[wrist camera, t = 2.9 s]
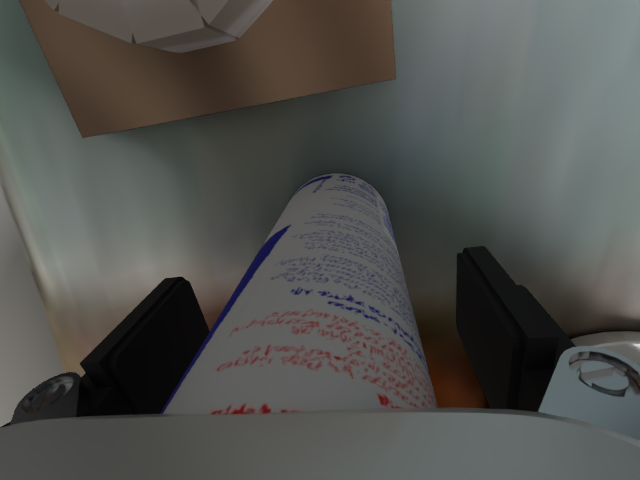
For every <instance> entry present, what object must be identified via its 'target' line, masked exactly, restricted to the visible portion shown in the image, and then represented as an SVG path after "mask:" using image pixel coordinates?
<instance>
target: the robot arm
mask: <svg viewBox="0 0 640 480" xmlns="http://www.w3.org/2000/svg"><path fill="white" fill-rule="evenodd" d="M456 324H457V329H458V333H459V335H460V337H461V340H462V342H463V345H464V347H465V349H466V352H467V354H468V356H469V359H470V361H471V363H472V366H473V368H474V371H475V373H476V375H477V378H478V380H479V382H480V385H481V387H482V389H483V392H484V394H485V397H486V399H487V401H488V404H489V406H490V408H491V409H482V408H389V409H342V410H322V411H302V412H283V413H257V414H182V413H171V414H160V413H161V411H162V410H163V408H164V406H165V405H166V403H167V401H168V400H169V398H170V396H171V395H172V393H173V392H174V390H175V388H176V387H177V385H178V383H179V382H180V380H181V378H182V377H183V375H184V374H185V372H186V370H187V369H188V367H189V365H190V364H191V362H192V360H193V359H194V357H195V355H196V354H197V352H198V351H199V349H200V347H201V346H202V344H203V342H204V341H205V339H206V337H207V336H208V334H209V332H210V331H209V329H208V326H207V324H206V321H205V319H204V316H203V314H202V311H201V309H200V306H199V304H198V301H197V299H196V296H195V294H194V291H193V289H192V286H191V284H190V282H189V281H187V280H185V279H184V278H183V277H174V278H166V279H164V280H163V281H162V282H161V283H160V284H159V285H158V286H157V287H156V288H155V289H154V290H153V291H152V292H151V293H150V294H149V295H148V296H147V297H146V298H145V299H144V300H143V301H142V302H141V303H140V304H139V305H138V306H137V307H136V308H135V309H134V310H133V311H132V312H131V313H130V314H129V315H128V316H127V317H126V318H125V319H124V320H123V321H122V322H121V323H120V324H119V325H118V326H117V327H116V328H115V329H114V330H113V331H112V332H111V333H110V334H109V335H108V336H107V337H106V338H105V339H104V340H103V341H102V342H101V343H100V344H99V345H98V346H97V347H96V348H95V349H94V350H93V351H92V352H91V353H90V354H89V355H88V356H87V357H86V358H85V359H84V360H83V361H82V362H81V363H80V365H81V366H82V368H83V369H84V371H85V372H86V373H85V374H84V375H83V376H82V377H80V376H79V374H77V373H75V372H67V373H62V374H59V375H57V376H54V377H52V378H50V379H48V380H46V381H44V382H42V383H41V384H39V385H38V386H36V387H35V388H33V389H32V390H31V391H30V392H29V393H27V394H26V395H25V396H24V397H23V398H22V400H21V401H20V402H19V403H18V405H17V407H16V409H15V411H14V414H13V417H12V420H11V422H9V423H7V424H6V425H4V426H2V427H0V480H640V332H633V331H618V332H602V333H596V334H591V335H585V336H580V337H576V338H573V339H569V337H568V336H567V335H566V334H565V333H564V332H563V330H562V329H561V328H560V327H559V326H558V325H557V323H556V322H555V321H554V320H553V319H552V318H551V316H550V315H549V314H548V313H547V312H546V311H545V309H544V308H543V307H542V306H541V305H540V304H539V302H538V301H537V300H536V299H535V298H534V297H533V295H532V294H531V293H530V292H529V291H528V290H527V289H526V288H525V287H524V286H522V285H516V284H515V283H514V281H513V280H512V279H511V278H510V277H509V275H508V274H507V273H506V272H505V270H504V269H503V268H502V267H501V266H500V264H499V263H498V262H497V261H496V259H495V258H494V257H493V256H492V255H491V253H490V252H489V251H488V250H487V249H486V247H484V246H479V247H470V248H464V249H463V253H458V254H457V295H456Z"/></svg>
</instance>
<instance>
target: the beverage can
mask: <svg viewBox="0 0 640 480" xmlns="http://www.w3.org/2000/svg"><path fill="white" fill-rule="evenodd" d="M389 408H438V407H437V403H436V399H435V395H434V391H433V387H432V383H431V380H430V376H429V372H428V368H427V364H426V360H425V356H424V352H423V348H422V344H421V340H420V336H419V332H418V328H417V324H416V320H415V316H414V312H413V309H412V305H411V301H410V297H409V293H408V289H407V285H406V281H405V277H404V273H403V269H402V265H401V261H400V257H399V253H398V249H397V245H396V241H395V238H394V234H393V230H392V226H391V222H390V218H389V214H388V210H387V207H386V204H385V202H384V200H383V199H382V197H381V196H380V194H379V193H378V192H377V191H376V190H375V189H374V188H373V187H372V186H371V185H370V184H368V183H367V182H365V181H364V180H362V179H360V178H358V177H355V176H352V175H348V174H341V173H330V174H325V175H320V176H317V177H315V178H313V179H310V180H309V181H307V182H306V183H304V184H303V185H302V186H301V187H299V188H298V189H297V191H296V192H295V193H294V194H293V196H292V197H291V199H290V201H289V203H288V205H287V206H286V208H285V209H284V211H283V213H282V214H281V216H280V218H279V219H278V221H277V223H276V224H275V226H274V228H273V229H272V231H271V232H270V234H269V236H268V237H267V239H266V241H265V242H264V244H263V246H262V247H261V249H260V250H259V252H258V254H257V255H256V257H255V259H254V260H253V262H252V264H251V265H250V267H249V269H248V270H247V272H246V273H245V275H244V277H243V278H242V280H241V282H240V283H239V285H238V287H237V288H236V290H235V291H234V293H233V295H232V296H231V298H230V300H229V301H228V303H227V305H226V306H225V308H224V310H223V311H222V313H221V314H220V316H219V318H218V319H217V321H216V323H215V324H214V326H213V328H212V329H211V331H210V332H209V334H208V336H207V337H206V339H205V341H204V342H203V344H202V346H201V347H200V349H199V351H198V352H197V354H196V355H195V357H194V359H193V360H192V362H191V364H190V365H189V367H188V369H187V370H186V372H185V374H184V375H183V377H182V378H181V380H180V382H179V383H178V385H177V387H176V388H175V390H174V392H173V393H172V395H171V396H170V398H169V400H168V401H167V403H166V405H165V406H164V408H163V410H162V411H161V413H160V414H171V413H182V414H257V413H283V412H302V411H322V410H342V409H389Z"/></svg>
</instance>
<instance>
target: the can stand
mask: <svg viewBox="0 0 640 480" xmlns="http://www.w3.org/2000/svg"><path fill="white" fill-rule="evenodd" d="M19 1H20V3H21V5H22V7H23V10H24V12H25V14H26V16H27V18H28V20H29V23H30V25H31V27H32V29H33V31H34V34H35V36H36V38H37V40H38V42H39V44H40V47H41V49H42V51H43V53H44V55H45V57H46V60H47V62H48V64H49V66H50V68H51V70H52V73H53V75H54V77H55V79H56V81H57V84H58V86H59V88H60V90H61V92H62V94H63V97H64V99H65V101H66V103H67V105H68V107H69V110H70V112H71V114H72V116H73V118H74V120H75V123H76V125H77V127H78V129H79V131H80V133H81V136H82V138H85V137H91V136H97V135H103V134H108V133H113V132H119V131H124V130H129V129H134V128H140V127H145V126H150V125H155V124H161V123H166V122H171V121H176V120H182V119H187V118H192V117H197V116H203V115H208V114H213V113H218V112H224V111H229V110H234V109H239V108H245V107H250V106H255V105H261V104H266V103H271V102H276V101H282V100H287V99H292V98H297V97H303V96H308V95H313V94H318V93H324V92H329V91H334V90H339V89H345V88H350V87H355V86H360V85H366V84H371V83H376V82H382V81H387V80H392V79H395V78H396V72H395V56H394V41H393V25H392V10H391V0H19Z"/></svg>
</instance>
